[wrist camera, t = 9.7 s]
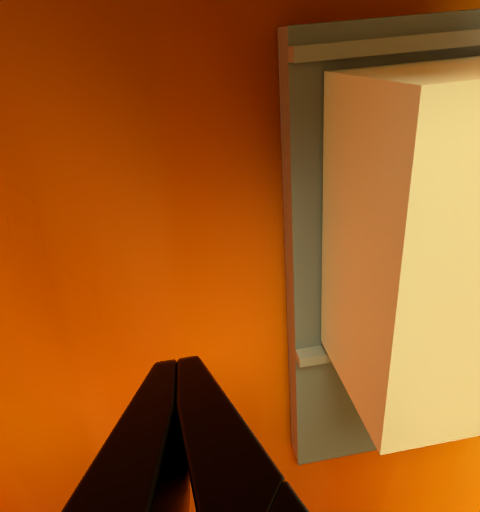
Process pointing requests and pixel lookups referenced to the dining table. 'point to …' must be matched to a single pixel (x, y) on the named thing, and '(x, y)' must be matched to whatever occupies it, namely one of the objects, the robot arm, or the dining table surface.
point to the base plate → (311, 197)
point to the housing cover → (404, 247)
